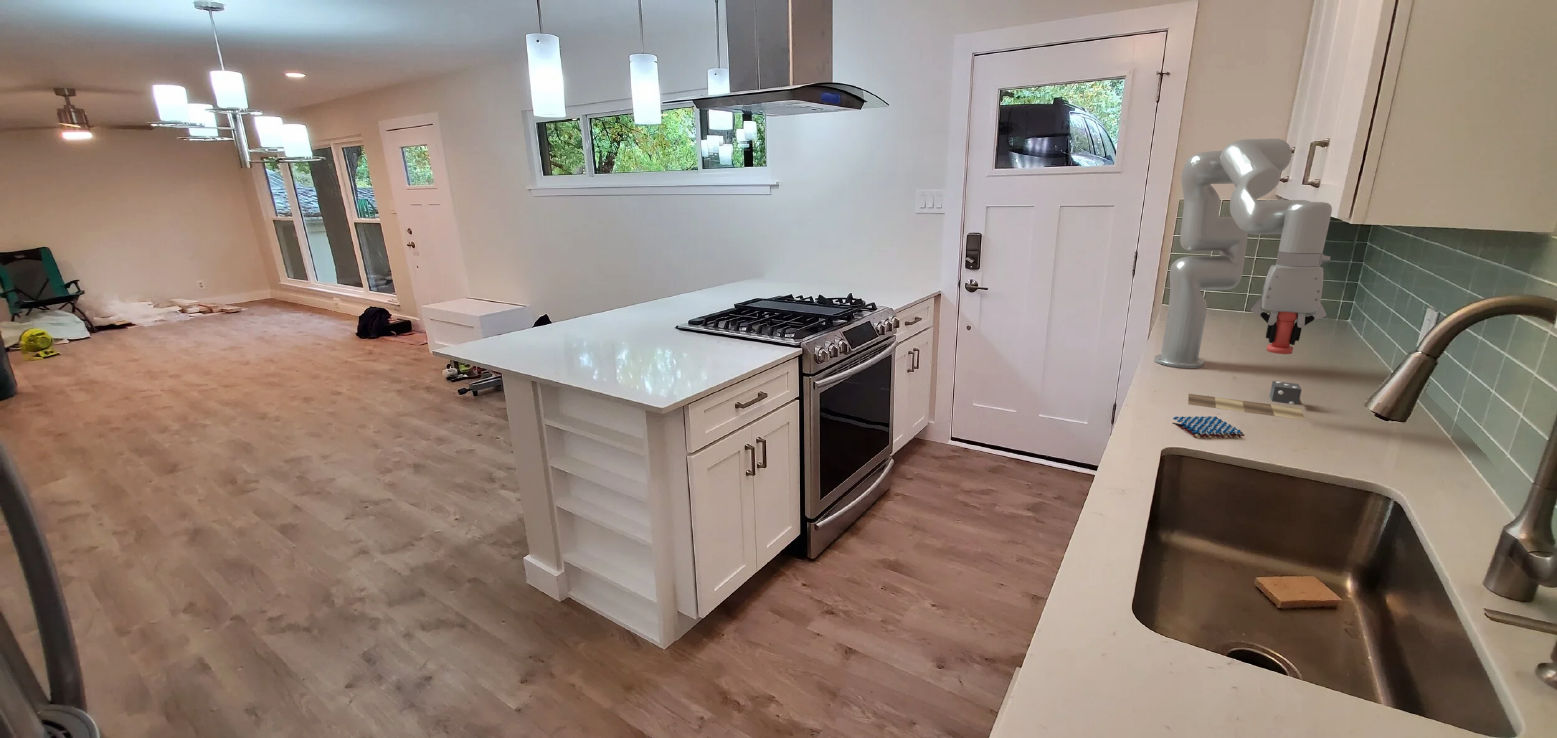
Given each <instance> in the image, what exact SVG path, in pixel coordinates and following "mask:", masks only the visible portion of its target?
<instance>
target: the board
mask: <svg viewBox="0 0 1557 738" xmlns="http://www.w3.org/2000/svg"><path fill="white" fill-rule="evenodd" d="M1187 396H1188V399H1187V400H1188V402H1187V403H1188V405H1189V406H1190V405H1191V406H1198V407H1205V408H1212V409H1213V408H1214V409H1221V410H1228V411H1235V412H1242V413H1248V414H1249V413H1250V414H1256V415H1257V414H1258V415H1265V416H1271V417H1277V418H1279V417H1280V418H1285V419H1286V418H1287V419H1293V420H1301V421H1306V418H1305V415H1304V414H1303V411H1302V409H1301V407H1294V406H1287V405H1280V404H1279V405H1278V404H1271V403H1265V402H1256V401H1249V400H1248V401H1247V400H1242V399H1241V400H1239V399H1232V398H1225V397H1217V396H1209V395H1202V394H1194V393H1188V395H1187Z"/></svg>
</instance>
